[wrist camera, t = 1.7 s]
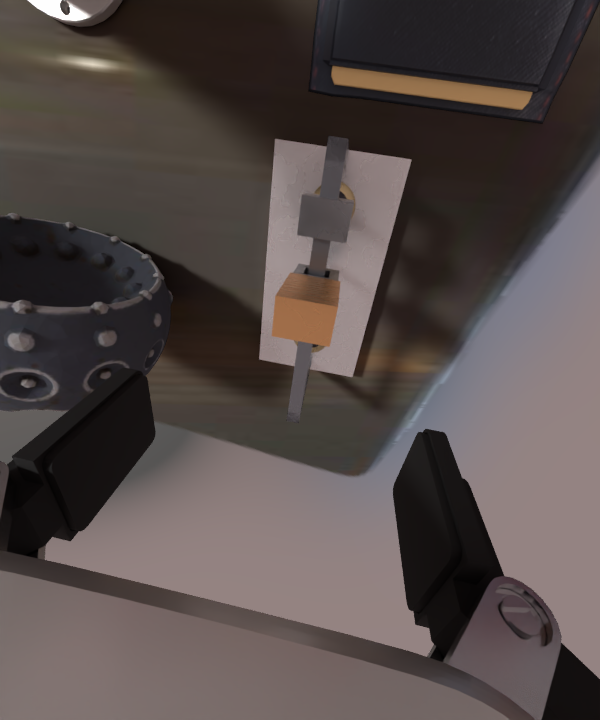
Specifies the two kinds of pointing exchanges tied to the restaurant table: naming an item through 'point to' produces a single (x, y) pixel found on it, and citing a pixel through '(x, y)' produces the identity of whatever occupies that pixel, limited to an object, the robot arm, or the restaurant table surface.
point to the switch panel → (328, 245)
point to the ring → (73, 312)
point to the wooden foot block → (307, 306)
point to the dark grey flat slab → (449, 52)
